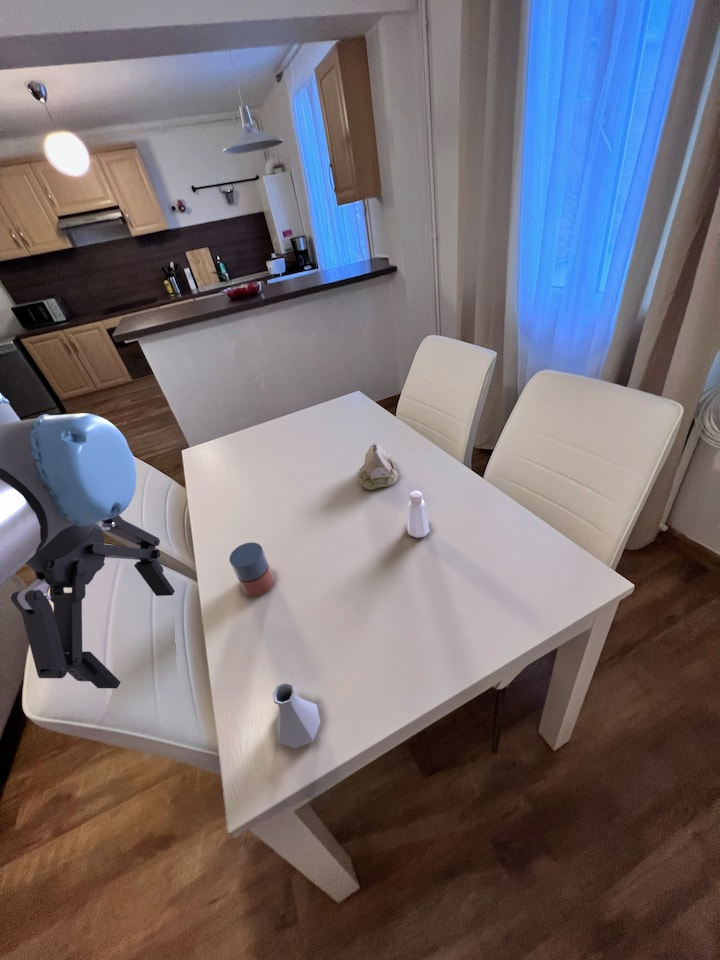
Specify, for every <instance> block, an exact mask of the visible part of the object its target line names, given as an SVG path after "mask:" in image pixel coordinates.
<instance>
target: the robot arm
mask: <svg viewBox="0 0 720 960" xmlns="http://www.w3.org/2000/svg"><path fill="white" fill-rule="evenodd" d="M10 404H11V403H10V401H9V399H8V398H5V396H4V395H3V394H2V393H1V392H0V587H2V586H3V585H4V584H5V583H6V582H7V581H8V580H9V579H10V578H11V577H12V576H13V575H15V574H16V573H17V572H18V571H19V570H20V569H22V567H23V566H24V565H27V567H29V568H30V569H32V571H33V573H34V575H35V580H34V581H33V582H32V583H31V584H29V586H28V587H26V588H25V589H24V590H23V589H22V590H15V591H13V593H12V594H11V596H10V601H11V602H12V603H13V605H14V606H15V607H16V608H17V610H18V612H20V614H21V616H22V620H23V624H24V627H25V632H26V635H27V639H28V644H29V647H30V651H31V656H32V659H33V662H34V667H35V670H36V674H37V677H38V678H39V679H64V678H65V677H66V676H67V674H69V675H70V676H71V677H72V678H73V679H74V680H76V682H90V683H91V684H93V686H95V687H96V688H97V689H118V688H119V686H120V684H121V683H122V681H120V680H119V679H118V678H117V676H115V675H114V674H113V672H111V670H109V669H108V667H107V666H105V665H104V664H103V663H102V662H101V661H100V660H99V659H98V658H97V657H96V656H95V655H94V654H93V653H92V652H91V651H83V599H85V598H86V586H87V585H89V584H90V583H91V582H92V581H93V579H94V577H95V576H96V574H97V573H98V572H99V571H101V570H102V569H103V567H104V566H106V563H105V560H106V558H107V559H108V558H109V559H122V560H137V561H136V562H135V563H134V565H133V566H134V568H135V569H136V570H137V572H138V573H139V575H140V576H141V577H142V579H143V580H144V581H145V582H146V584H147V585H148V587H149V588H150V590H151V591H152V592H153V593H154V596H156V597H162V596H163V597H164V596H165V597H166V596H168V597H169V596H173V595H174V593H176V590H175V589H174V588H173V586H172V585H171V583H170V582H169V581H168V578H166V576H165V575H164V567H163V566H162V564H161V563H160V562H159V560H158V559H159V558H160V557H161V551H160V550H159V549H156V547H158V546H159V545H160V543H161V541H160V538H159V537H158V536H156V535H154V534H152V533H150V532H148V531H146V530H144V529H142V528H140V527H138V526H136V525H135V524H132V523H130V522H129V521H127V520H125V519H124V518H122V517H121V516H120V515H121V514H122V513H124V512H125V511H126V509H127V508H129V506H130V504H131V502H132V501H133V498H134V496H135V493H136V488H137V479H138V478H137V475H138V473H137V468H136V467H137V466H136V461H135V460H136V459H135V457H134V454H133V453H132V451H131V449H130V447H129V445H128V441H127V439H126V437H125V436H124V434H123V433H122V432H121V431H120V429H118V428H117V426H116V425H114V424H113V423H112V422H111V421H109V420H108V419H106V418H104V417H101V416H99V415H96V414H92V413H85V412H83V413H82V412H81V413H70V414H69V413H67V414H53V415H50V414H47V413H45V414H41V415H39V416H38V417H34V418H30V419H22V420H21V419H20V417H19V416H18V415H17V413H16V412H15V411H14V409H13V408H12V406H11V405H10ZM104 531H105V532H108V533H110V534H112V535H114V536H117V537H119V538H121V539H123V540H125V541H127V542H130V543H132V544H134V545H136V546H138V547H137V548H136V547H130V546H120V545H116V544H107V543H105V540H104V539H105V538H104ZM138 560H139V561H138ZM65 588H66V589H71V592H65ZM48 589H49V593H48ZM51 602H52V603H53V607H52V605H51Z"/></svg>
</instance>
